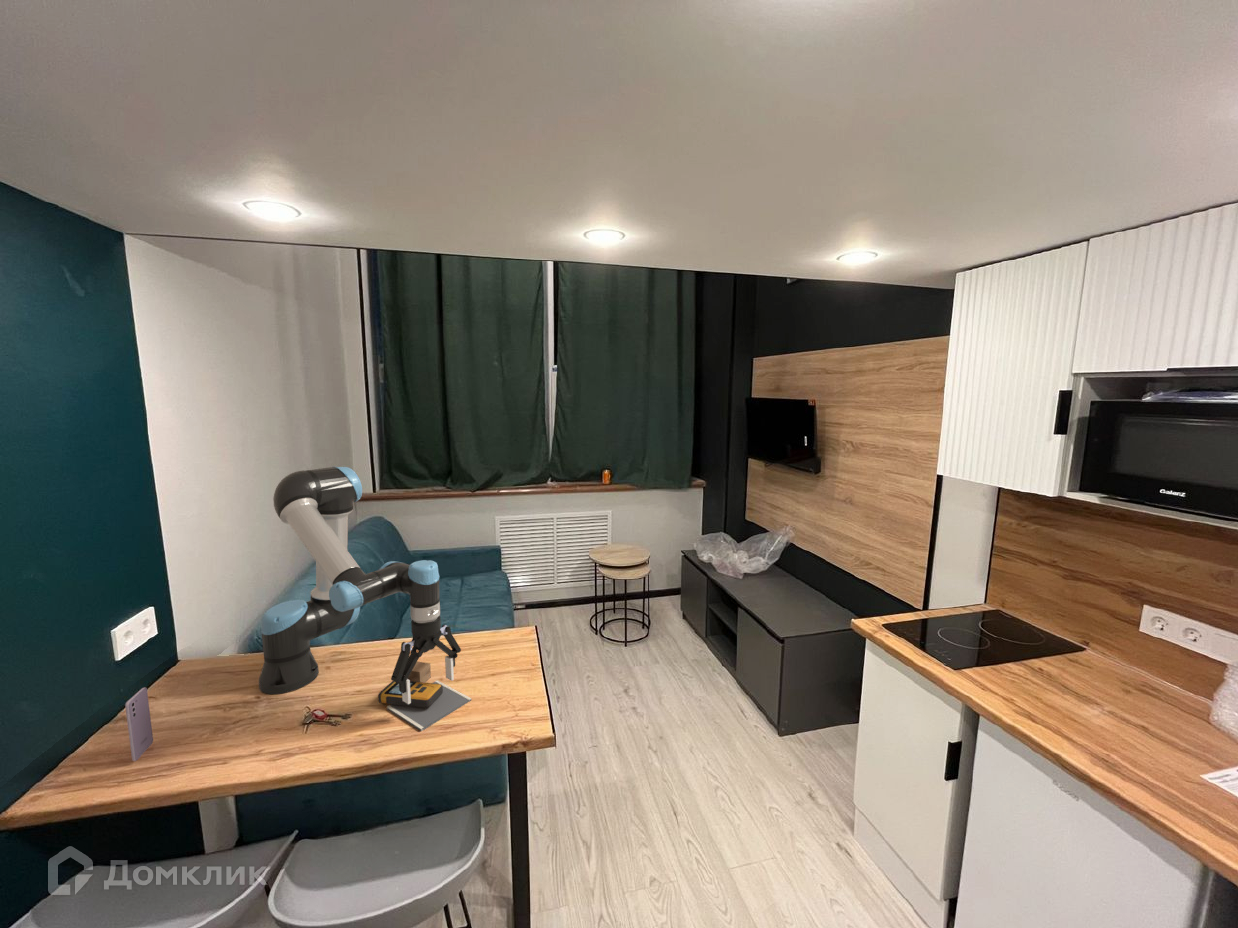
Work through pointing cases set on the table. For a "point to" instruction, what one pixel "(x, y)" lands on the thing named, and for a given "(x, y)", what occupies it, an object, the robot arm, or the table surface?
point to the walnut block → (420, 672)
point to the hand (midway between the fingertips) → (429, 689)
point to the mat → (431, 708)
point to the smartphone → (139, 723)
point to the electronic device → (419, 691)
